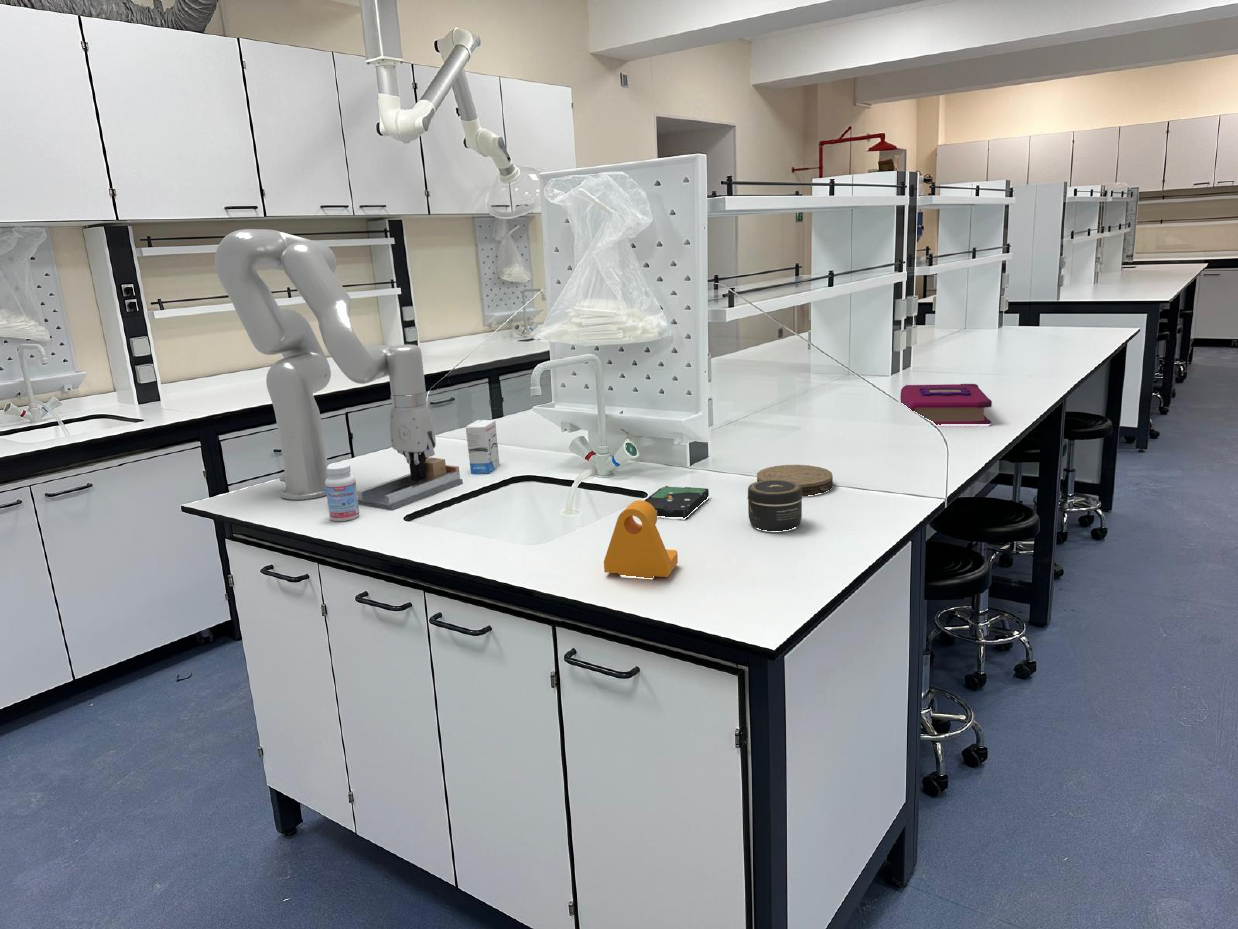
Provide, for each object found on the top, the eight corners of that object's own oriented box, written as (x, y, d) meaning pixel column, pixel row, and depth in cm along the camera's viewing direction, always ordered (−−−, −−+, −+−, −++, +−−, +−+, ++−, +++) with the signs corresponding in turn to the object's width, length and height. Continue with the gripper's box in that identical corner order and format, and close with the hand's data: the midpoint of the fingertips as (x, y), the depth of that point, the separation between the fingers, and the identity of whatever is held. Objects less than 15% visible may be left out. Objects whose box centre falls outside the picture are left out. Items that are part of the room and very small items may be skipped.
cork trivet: (764, 500, 178) (763, 486, 177) (751, 479, 193) (751, 466, 192) (841, 496, 178) (841, 482, 177) (822, 475, 193) (822, 462, 193)
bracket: (679, 565, 145) (676, 497, 142) (667, 581, 139) (664, 510, 136) (618, 561, 149) (614, 494, 146) (604, 577, 142) (600, 507, 139)
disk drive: (686, 523, 168) (709, 500, 181) (685, 509, 167) (709, 487, 180) (636, 519, 172) (663, 496, 185) (636, 506, 171) (662, 484, 184)
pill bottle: (329, 523, 178) (321, 471, 175) (330, 515, 184) (323, 464, 181) (360, 519, 179) (352, 467, 177) (360, 511, 185) (353, 460, 182)
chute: (357, 504, 191) (355, 486, 190) (428, 478, 208) (426, 462, 207) (392, 510, 185) (390, 492, 184) (462, 483, 202) (461, 466, 201)
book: (907, 428, 233) (908, 400, 231) (900, 407, 259) (900, 382, 257) (991, 428, 228) (993, 399, 226) (974, 407, 254) (976, 381, 252)
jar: (738, 522, 165) (737, 483, 163) (784, 513, 168) (784, 475, 166) (765, 537, 156) (764, 497, 154) (812, 528, 159) (812, 488, 157)
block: (416, 481, 201) (413, 461, 200) (428, 477, 205) (426, 456, 203) (435, 484, 198) (432, 463, 197) (447, 480, 202) (444, 459, 200)
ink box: (488, 474, 209) (484, 426, 206) (469, 474, 210) (464, 426, 207) (500, 464, 218) (496, 419, 215) (481, 464, 219) (477, 419, 216)
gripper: (373, 402, 194) (383, 480, 199) (421, 405, 186) (431, 487, 191) (398, 396, 200) (407, 472, 205) (446, 399, 192) (454, 478, 197)
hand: (418, 479), depth 198 cm, fingers closed
